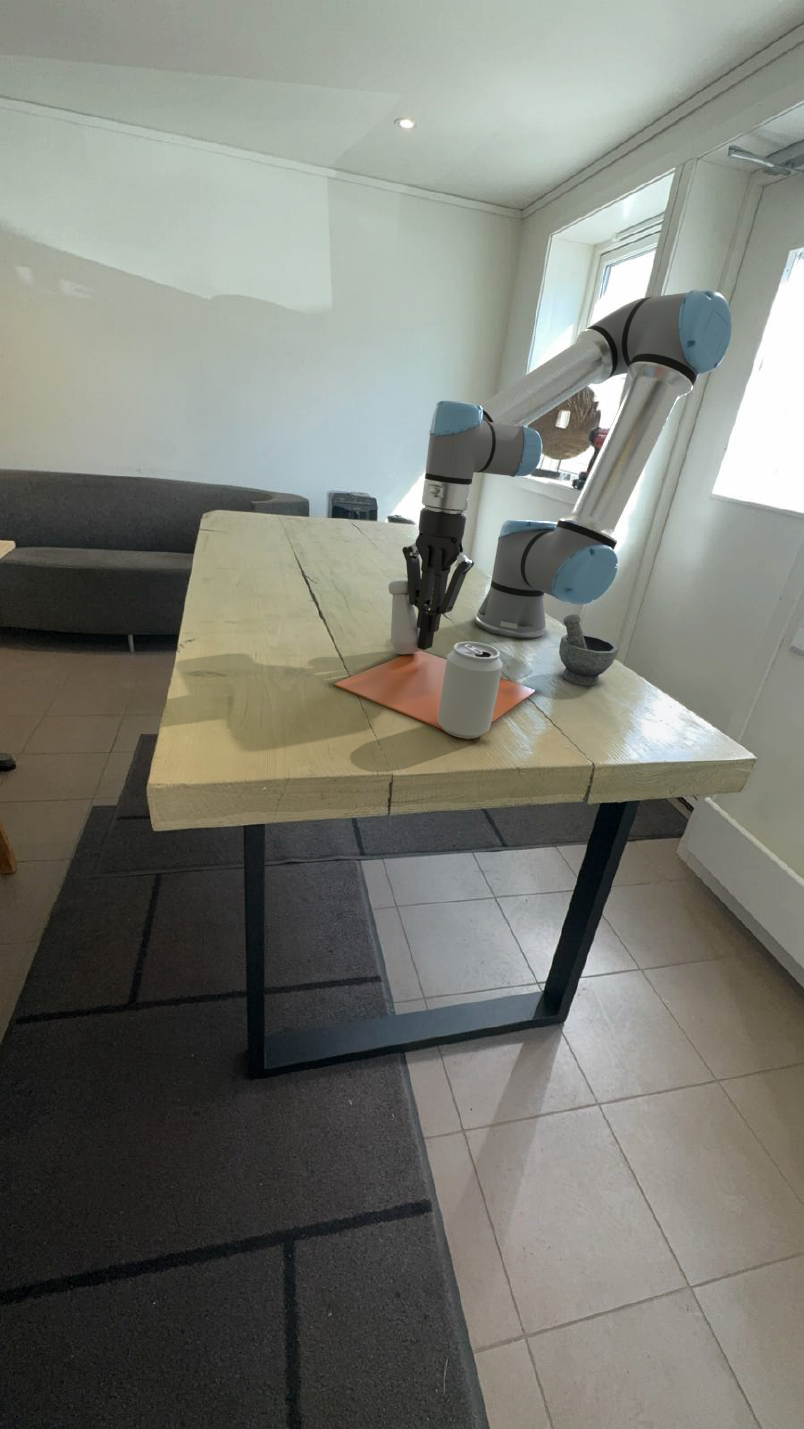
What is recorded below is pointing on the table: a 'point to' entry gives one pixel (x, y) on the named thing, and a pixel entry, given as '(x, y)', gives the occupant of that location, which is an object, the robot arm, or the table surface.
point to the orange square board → (420, 687)
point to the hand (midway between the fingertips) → (424, 647)
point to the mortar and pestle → (584, 654)
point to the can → (469, 689)
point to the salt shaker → (403, 619)
